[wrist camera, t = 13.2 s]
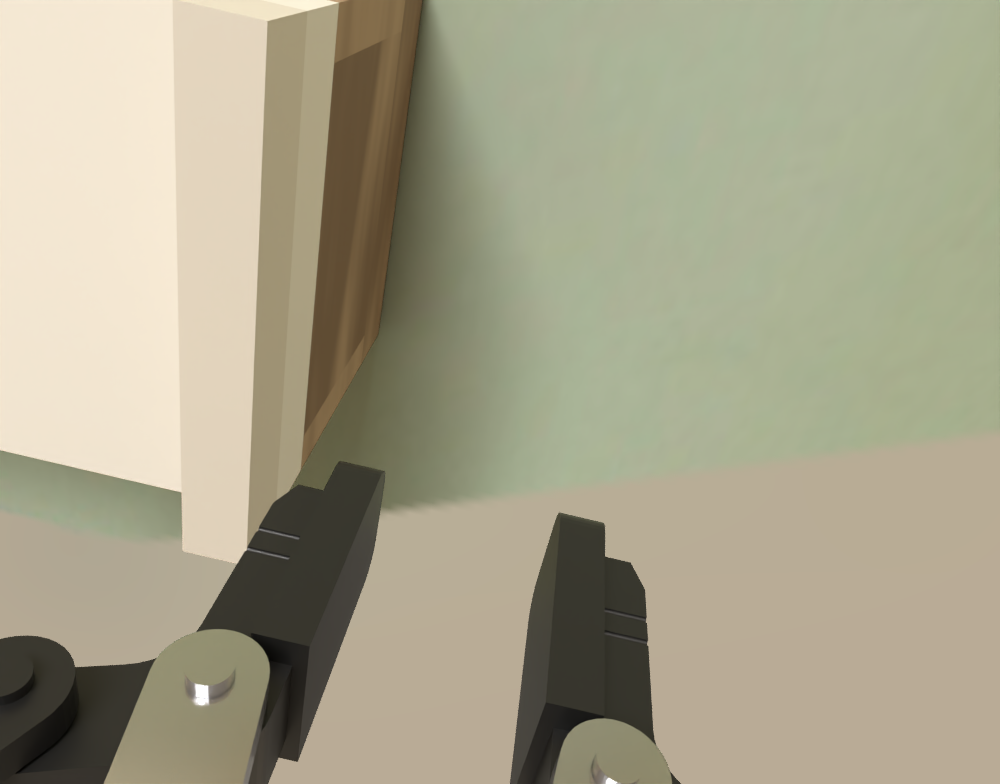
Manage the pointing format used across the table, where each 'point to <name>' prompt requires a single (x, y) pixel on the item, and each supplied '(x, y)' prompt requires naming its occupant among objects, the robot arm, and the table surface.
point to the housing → (358, 194)
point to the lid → (164, 244)
